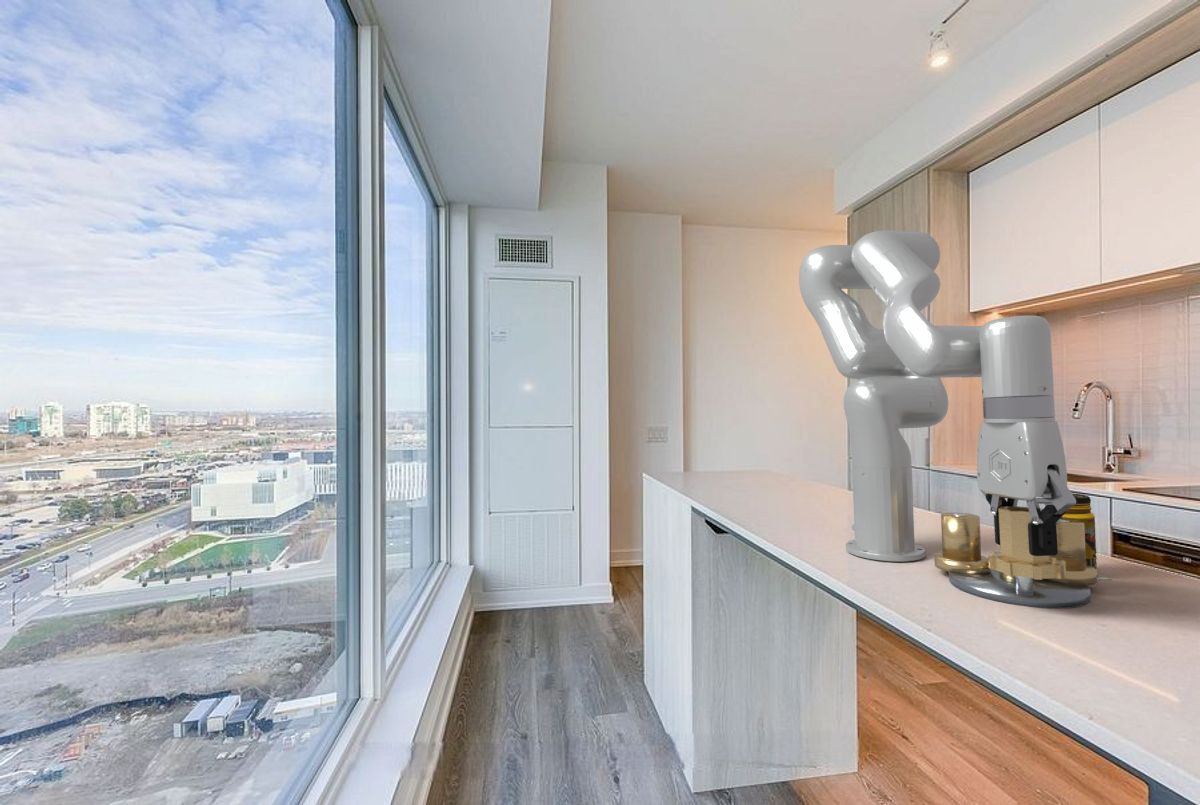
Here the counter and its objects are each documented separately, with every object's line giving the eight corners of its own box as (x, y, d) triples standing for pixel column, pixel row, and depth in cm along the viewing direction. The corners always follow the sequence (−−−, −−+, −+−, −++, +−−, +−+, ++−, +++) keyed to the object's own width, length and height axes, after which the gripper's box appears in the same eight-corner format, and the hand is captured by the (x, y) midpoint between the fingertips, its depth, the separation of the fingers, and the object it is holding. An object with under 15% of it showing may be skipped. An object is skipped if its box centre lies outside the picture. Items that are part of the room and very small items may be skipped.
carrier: (919, 569, 88) (917, 511, 88) (1033, 565, 88) (1031, 507, 88) (1002, 610, 70) (999, 536, 70) (1145, 604, 70) (1142, 531, 70)
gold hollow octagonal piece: (976, 563, 75) (973, 505, 76) (1031, 561, 76) (1028, 503, 76) (1020, 580, 68) (1017, 515, 68) (1082, 578, 68) (1078, 513, 68)
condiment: (1112, 580, 80) (1108, 498, 80) (1046, 578, 82) (1043, 498, 82) (1079, 566, 87) (1076, 490, 87) (1019, 564, 89) (1016, 490, 89)
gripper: (947, 412, 81) (953, 536, 80) (1043, 411, 64) (1052, 568, 63) (997, 410, 81) (1004, 534, 80) (1106, 409, 64) (1115, 566, 63)
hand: (1025, 548), depth 72 cm, fingers closed on gold hollow octagonal piece, 5 cm apart
